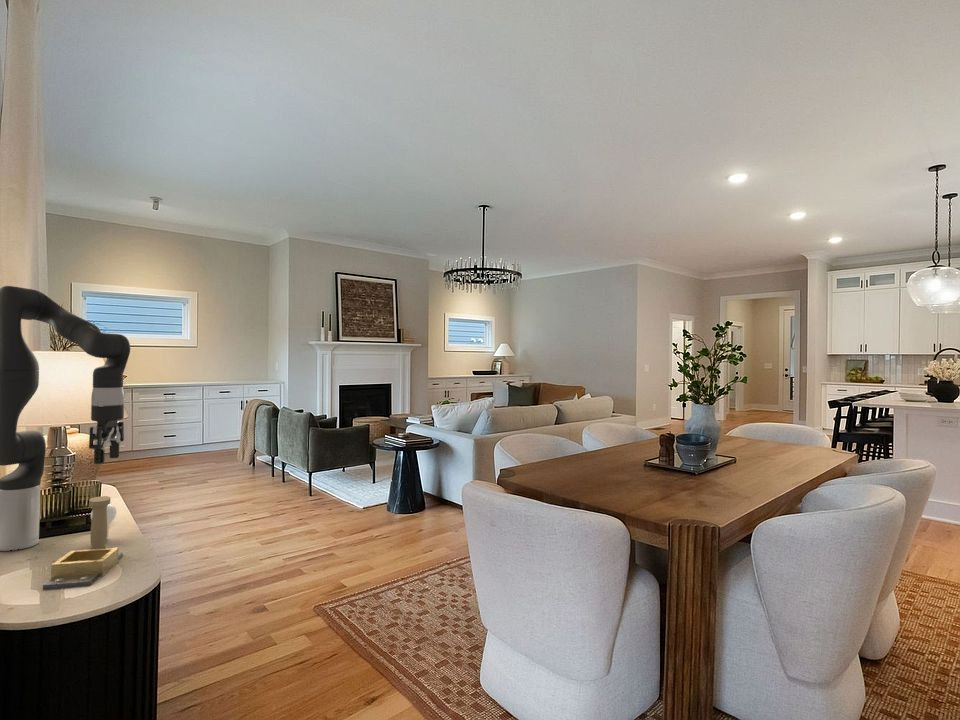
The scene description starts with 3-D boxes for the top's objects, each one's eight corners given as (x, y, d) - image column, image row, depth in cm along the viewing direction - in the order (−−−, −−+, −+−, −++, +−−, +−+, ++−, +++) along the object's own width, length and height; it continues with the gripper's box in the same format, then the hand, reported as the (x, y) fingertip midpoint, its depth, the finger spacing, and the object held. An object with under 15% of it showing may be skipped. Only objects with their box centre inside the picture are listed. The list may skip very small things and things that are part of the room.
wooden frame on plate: (39, 589, 121) (40, 572, 121) (79, 558, 140) (80, 544, 140) (93, 585, 124) (93, 568, 124) (125, 555, 143) (125, 541, 143)
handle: (87, 556, 142) (89, 502, 142) (88, 549, 147) (89, 497, 147) (108, 553, 144) (110, 500, 145) (108, 546, 150) (110, 495, 150)
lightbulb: (119, 539, 156) (120, 502, 157) (95, 544, 151) (96, 507, 151) (110, 534, 160) (111, 499, 160) (86, 540, 154) (87, 504, 155)
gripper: (105, 401, 151) (104, 456, 151) (78, 405, 137) (77, 466, 137) (133, 401, 153) (133, 455, 153) (110, 405, 139) (109, 465, 139)
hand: (107, 460), depth 145 cm, fingers open, 8 cm apart
